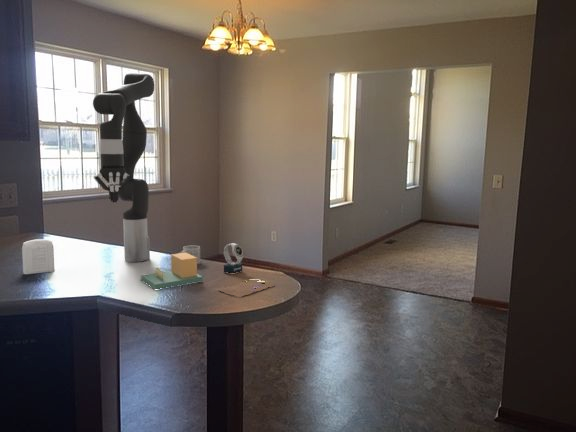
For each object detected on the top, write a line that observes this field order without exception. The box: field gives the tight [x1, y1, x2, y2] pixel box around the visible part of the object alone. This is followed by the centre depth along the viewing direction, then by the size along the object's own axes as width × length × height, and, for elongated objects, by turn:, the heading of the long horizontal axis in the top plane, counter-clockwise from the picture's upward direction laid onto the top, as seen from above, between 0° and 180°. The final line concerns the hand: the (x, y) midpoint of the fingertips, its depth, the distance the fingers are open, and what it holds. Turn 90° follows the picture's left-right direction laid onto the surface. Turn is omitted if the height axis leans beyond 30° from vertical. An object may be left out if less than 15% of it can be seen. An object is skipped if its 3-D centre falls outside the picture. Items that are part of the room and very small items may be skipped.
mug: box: [179, 244, 201, 265], centre depth 191 cm, size 10×7×7 cm
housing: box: [170, 252, 198, 278], centre depth 169 cm, size 6×9×6 cm, turn 36°
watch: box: [223, 242, 245, 274], centre depth 180 cm, size 6×8×11 cm
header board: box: [141, 267, 203, 290], centre depth 167 cm, size 17×13×5 cm
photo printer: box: [21, 238, 55, 275], centre depth 175 cm, size 10×4×12 cm, turn 123°
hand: (113, 202), depth 169 cm, fingers closed
